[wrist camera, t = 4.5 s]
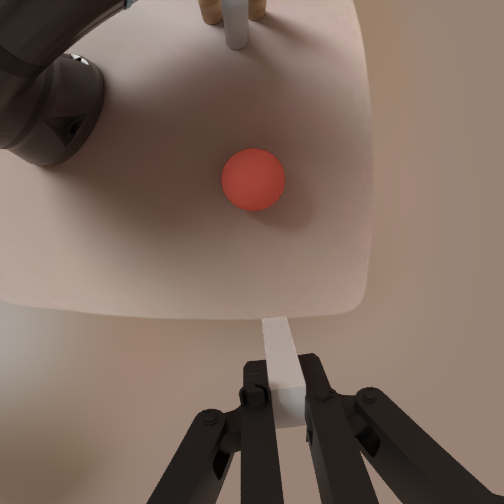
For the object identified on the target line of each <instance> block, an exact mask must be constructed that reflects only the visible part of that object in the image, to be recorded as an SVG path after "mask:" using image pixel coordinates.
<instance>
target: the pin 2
mask: <svg viewBox="0 0 504 504" xmlns="http://www.w3.org/2000/svg"><path fill="white" fill-rule="evenodd" d="M248 1H249V3H248V19H250V20H254V21H256V20H260V19H262V18H263V17H264V16H265V8H266V0H248Z"/></svg>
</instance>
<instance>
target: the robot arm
mask: <svg viewBox="0 0 504 504" xmlns="http://www.w3.org/2000/svg"><path fill="white" fill-rule="evenodd" d="M136 1H138V0H0V149H7V150H9V151H10V152H12V153H14V154H15V155H17V156H19V157H20V158H22V159H24V160H25V161H27V162H29V163H31V164H35V165H54V164H58V163H60V162H62V161H64V160H66V159H68V158H69V157H70V156H72V155H73V154H74V153H75V152H76V151H77V150H78V149H79V148H80V147H81V146H82V145H83V143H84V142H85V141H86V139H87V138H88V136H89V135H90V133H91V131H92V130H93V128H94V126H95V124H96V122H97V119H98V117H99V114H100V111H101V107H102V103H103V96H104V83H103V78H102V75H101V73H100V71H99V69H98V68H97V66H96V65H95V64H93V63H92V62H90V61H89V60H88V59H86V58H84V57H82V56H80V55H75V54H63V53H64V52H65V51H66V50H68V49H69V48H70V47H71V46H72V45H74V44H75V43H76V42H77V41H79V40H80V39H81V38H82V37H84V36H85V35H86V34H88V33H89V32H90V31H92V30H93V29H94V28H96V27H97V26H99V25H100V24H101V23H103V22H104V21H106V20H107V19H109V18H110V17H112V16H114V15H115V14H117V13H119V12H120V11H122V10H126V9H128V8H130V7H131V5H132V4H133V3H135V2H136ZM262 325H263V336H264V346H265V356H266V360H259V361H249V362H247V363H246V365H245V366H244V369H243V370H244V371H243V372H244V373H243V387H242V388H241V389H240V391H239V397H240V402H241V405H240V406H239V407H238V408H237V409H235V410H233V411H230V412H226V413H223V412H221V411H220V410H217V409H207V410H203V411H202V412H200V413H198V414H197V416H196V417H195V419H194V421H193V422H192V424H191V426H190V428H189V429H188V431H187V433H186V435H185V437H184V439H183V440H182V442H181V444H180V446H179V448H178V449H177V451H176V453H175V455H174V456H173V458H172V460H171V462H170V464H169V465H168V467H167V469H166V471H165V472H164V474H163V476H162V478H161V479H160V481H159V483H158V485H157V487H156V488H155V490H154V491H153V493H152V495H151V497H150V498H149V500H148V502H147V503H146V504H215V503H216V500H217V498H218V496H219V493H220V491H221V488H222V485H223V483H224V480H225V477H226V475H227V472H228V470H229V467H230V464H231V461H232V459H233V456H234V452H238V451H241V504H284V500H283V491H282V482H281V474H280V465H279V457H278V449H277V440H276V432H275V429H278V428H287V427H295V426H301V425H305V421H306V425H307V435H306V442H309V447H310V451H311V456H312V460H313V465H314V469H315V474H316V478H317V483H318V488H319V493H320V498H321V502H322V504H379V502H378V499H377V496H376V494H375V491H374V488H373V485H372V483H371V480H370V477H369V474H368V472H367V469H366V466H365V464H364V461H363V459H362V456H361V453H360V451H361V452H362V454H363V455H364V456H365V458H366V459H367V460H368V461H369V463H370V464H371V465H372V466H373V468H374V469H375V470H376V471H377V473H378V474H379V475H380V476H381V477H382V479H383V480H384V481H385V483H386V484H387V485H388V486H389V487H390V489H391V490H392V491H393V492H394V494H395V495H396V496H397V497H398V498H399V500H400V501H401V502H402V503H403V504H504V496H500V495H496V494H493V493H492V492H490V491H489V490H488V489H487V488H486V487H485V486H484V485H483V484H482V483H480V482H479V481H478V480H477V479H476V478H475V477H474V476H473V475H472V474H470V473H469V472H468V471H467V470H466V469H465V468H464V467H463V466H462V465H461V464H460V463H458V462H457V461H456V460H455V459H454V458H453V457H452V456H451V455H450V454H449V453H447V452H446V451H445V450H444V449H443V448H442V447H441V446H440V445H439V444H438V443H437V442H435V440H433V439H432V438H431V437H430V436H429V435H428V434H427V433H426V432H425V431H424V430H423V429H422V428H421V427H419V426H418V425H417V424H416V423H415V422H414V421H413V420H412V419H411V418H410V417H409V416H407V414H406V413H405V412H403V411H402V410H401V409H400V408H399V407H398V406H397V405H396V404H395V403H394V402H393V401H392V400H391V399H390V398H389V397H388V396H386V395H385V394H384V393H383V392H382V391H381V390H379V389H378V388H373V387H367V388H363V389H361V390H359V391H358V392H357V394H356V395H353V396H351V395H341V394H338V393H337V392H336V391H335V390H334V389H332V388H331V387H330V384H329V381H328V379H327V376H326V374H325V371H324V369H323V366H322V364H321V361H320V359H319V357H318V356H316V355H315V354H314V353H310V354H303V355H297V352H296V349H295V346H294V342H293V338H292V335H291V332H290V328H289V325H288V321H287V318H286V316H282V317H274V318H265V319H262Z"/></svg>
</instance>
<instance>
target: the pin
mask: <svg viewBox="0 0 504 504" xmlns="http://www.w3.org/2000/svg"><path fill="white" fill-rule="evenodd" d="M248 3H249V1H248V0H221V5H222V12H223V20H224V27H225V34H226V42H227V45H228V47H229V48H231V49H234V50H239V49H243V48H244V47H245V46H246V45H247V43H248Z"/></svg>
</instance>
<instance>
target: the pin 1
mask: <svg viewBox="0 0 504 504" xmlns="http://www.w3.org/2000/svg"><path fill="white" fill-rule="evenodd" d="M198 2H199V5H200V9H201V13H202V16H203V20H204V22H205V23H207V24H210V25H213V24H217V23H219V22H221V21H222V19H223V12H222V5H221V0H198Z"/></svg>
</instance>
